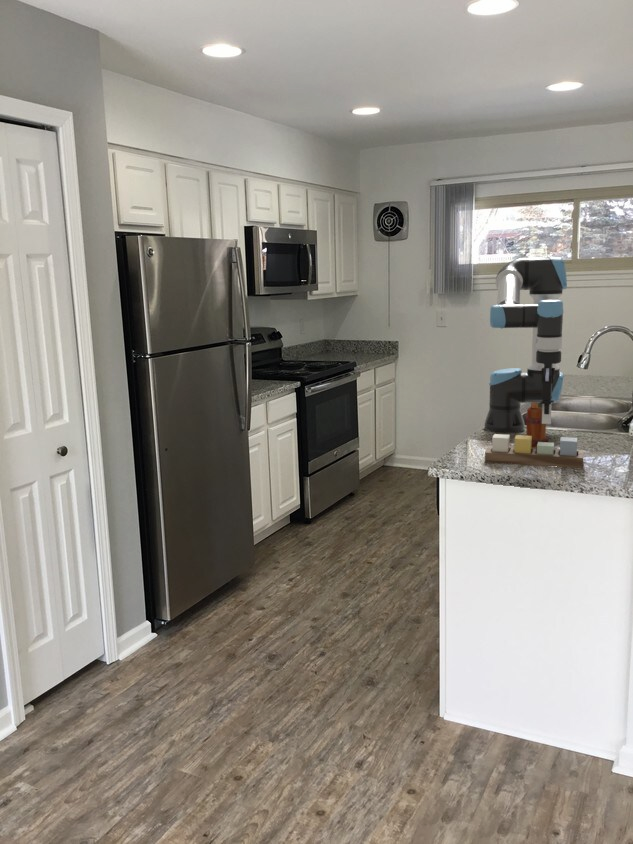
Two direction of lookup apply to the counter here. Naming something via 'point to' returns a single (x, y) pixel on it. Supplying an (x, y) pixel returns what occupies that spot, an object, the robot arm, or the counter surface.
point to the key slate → (568, 446)
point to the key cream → (500, 443)
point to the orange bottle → (535, 424)
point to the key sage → (545, 448)
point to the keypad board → (534, 458)
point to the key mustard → (523, 444)
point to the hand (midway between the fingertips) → (546, 423)
